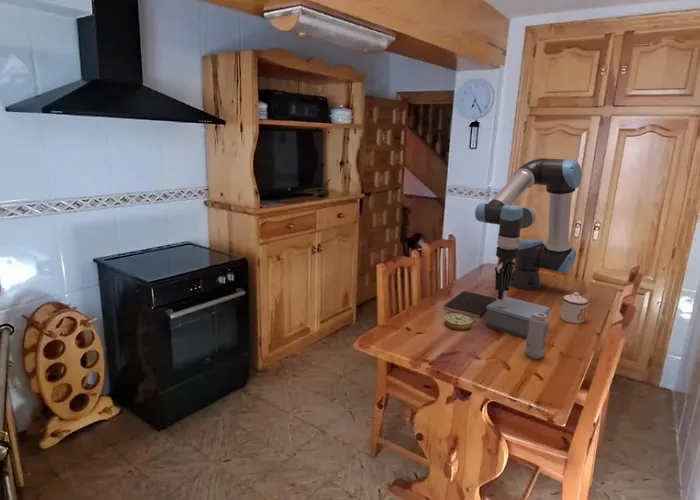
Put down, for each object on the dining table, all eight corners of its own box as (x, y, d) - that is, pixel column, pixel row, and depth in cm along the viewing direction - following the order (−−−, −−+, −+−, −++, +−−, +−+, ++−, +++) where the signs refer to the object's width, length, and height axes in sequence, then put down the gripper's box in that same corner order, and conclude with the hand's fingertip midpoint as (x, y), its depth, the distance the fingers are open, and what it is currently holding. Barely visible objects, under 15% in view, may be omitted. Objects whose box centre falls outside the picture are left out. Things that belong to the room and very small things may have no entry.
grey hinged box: (502, 314, 189) (504, 299, 188) (546, 327, 178) (548, 310, 176) (485, 325, 178) (487, 309, 176) (531, 340, 166) (533, 322, 164)
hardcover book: (443, 310, 194) (443, 305, 193) (463, 295, 212) (463, 290, 211) (480, 319, 185) (480, 314, 184) (497, 303, 203) (497, 298, 203)
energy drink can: (526, 349, 159) (531, 309, 155) (544, 354, 156) (550, 313, 152) (523, 356, 154) (528, 315, 150) (542, 361, 151) (548, 319, 147)
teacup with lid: (580, 326, 180) (585, 298, 177) (556, 319, 186) (560, 292, 183) (589, 317, 188) (593, 291, 185) (566, 311, 194) (570, 285, 191)
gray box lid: (503, 298, 188) (504, 295, 187) (549, 310, 176) (549, 307, 176) (486, 308, 176) (486, 305, 175) (534, 322, 164) (534, 319, 164)
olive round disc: (461, 319, 184) (462, 310, 183) (477, 329, 175) (478, 320, 174) (439, 322, 181) (440, 313, 180) (454, 333, 171) (455, 323, 170)
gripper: (510, 251, 162) (502, 313, 168) (524, 246, 171) (516, 304, 177) (490, 248, 167) (483, 308, 172) (505, 242, 176) (498, 299, 182)
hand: (500, 306), depth 175 cm, fingers closed
